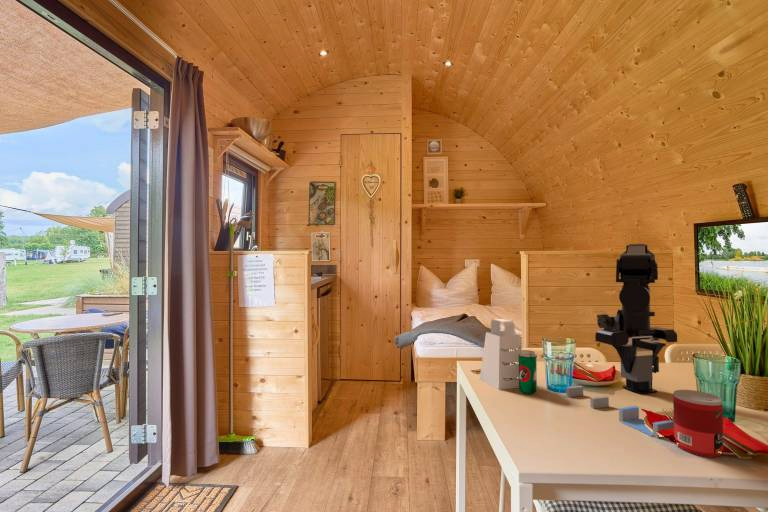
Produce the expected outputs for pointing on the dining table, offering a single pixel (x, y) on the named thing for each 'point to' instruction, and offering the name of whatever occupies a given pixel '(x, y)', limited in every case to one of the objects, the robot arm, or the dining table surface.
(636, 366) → the box with lid
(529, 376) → the soda can
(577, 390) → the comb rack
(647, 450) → the dining table surface
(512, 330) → the grater
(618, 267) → the robot arm
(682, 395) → the canned food
